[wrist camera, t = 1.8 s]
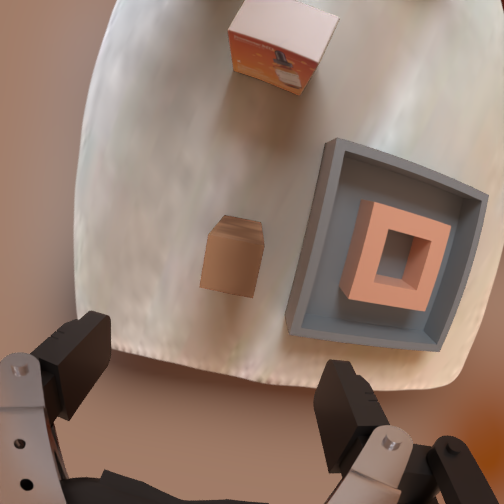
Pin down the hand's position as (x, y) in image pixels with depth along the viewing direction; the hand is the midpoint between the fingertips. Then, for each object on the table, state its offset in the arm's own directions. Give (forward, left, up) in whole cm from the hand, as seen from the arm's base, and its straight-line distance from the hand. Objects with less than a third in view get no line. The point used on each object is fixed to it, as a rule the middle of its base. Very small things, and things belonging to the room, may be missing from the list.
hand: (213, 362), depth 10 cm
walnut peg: (0, 0, -24) cm, 24 cm away
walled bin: (+17, +2, -24) cm, 29 cm away
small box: (0, +20, -24) cm, 31 cm away
